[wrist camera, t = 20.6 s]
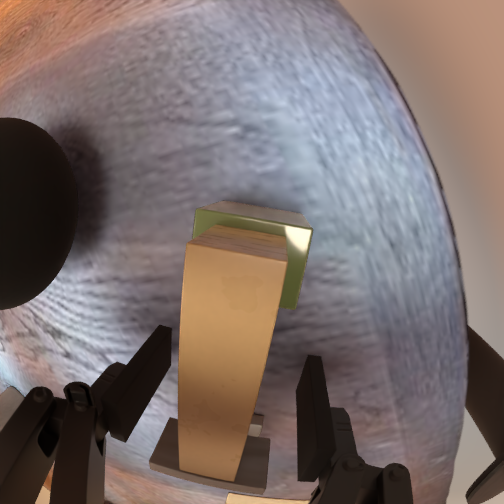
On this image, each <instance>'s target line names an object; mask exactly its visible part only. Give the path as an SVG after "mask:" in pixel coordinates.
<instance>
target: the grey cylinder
mask: <svg viewBox="0 0 504 504" xmlns="http://www.w3.org/2000/svg"><path fill="white" fill-rule="evenodd" d="M23 400H24V397H23V396H22V395H21V394H20V392H19V391H17V390H16V389H15V388H13V387H9V388H7V389H6V390H5V391H4V392H3V393H2V394H1V395H0V431H1V430H2V429H3V427H4V426H5V424H6V423H7V421H8V420H9V419H10V417H11V416H12V414H13V413H14V412H15V410H16V409H17V408H18V406H19V405H20V404H21V402H22V401H23Z"/></svg>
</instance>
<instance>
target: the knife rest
mask: <svg viewBox="0 0 504 504" xmlns="http://www.w3.org/2000/svg"><path fill="white" fill-rule="evenodd" d="M214 225H222V226H228V227H234V228H239V229H245V230H251V231H257V232H262V233H268V234H273V235H279V236H284V237H286V242H287V255H288V266H287V271H286V276H285V280H284V285H283V290H282V295H281V299H280V304H279V308H285V309H291V310H295V309H296V307H297V302H298V298H299V294H300V290H301V285H302V281H303V277H304V272H305V268H306V263H307V258H308V254H309V249H310V244H311V239H312V235H313V228H312V227H311V225H310V224H309V222H308V221H307V220H306V218H305V217H304V215H303V214H300V213H295V212H289V211H284V210H278V209H273V208H267V207H261V206H256V205H250V204H244V203H237V202H231V201H225V200H223V201H220V202H216V203H213V204H210V205H207V206H203V207H200V208H197V209H196V211H195V219H194V227H193V236H192V239H194V238H195V237H197V236H198V235H200V234H201V233H203V232H205V231H206V230H208V229H209V228H211V227H212V226H214Z"/></svg>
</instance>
